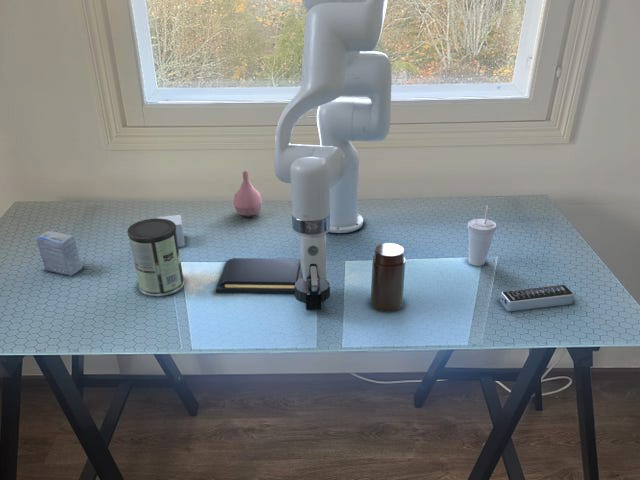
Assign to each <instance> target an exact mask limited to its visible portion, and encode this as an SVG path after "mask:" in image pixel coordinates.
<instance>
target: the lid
mask: <svg viewBox="0 0 640 480" xmlns="http://www.w3.org/2000/svg"><path fill="white" fill-rule="evenodd" d="M308 279H311V276H309V277H308ZM317 279H318V277H317ZM330 285H331V284H330V282H329V280H327V279H326V281H324V280H323V281H321V279H320V291H321V304H322V303H325V302H326V301H327V300H329V298H330V296H331V286H330ZM310 286H311V282H309V288H310ZM294 288H295V294H294V297H295V299H296V301H298V302H300V303H303V304H305V305H306V293H307V282H305V281H304V280H303V278H301V279H299V280H298V281H296V283H295V287H294Z"/></svg>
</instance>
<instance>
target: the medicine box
mask: <svg viewBox="0 0 640 480" xmlns="http://www.w3.org/2000/svg"><path fill="white" fill-rule="evenodd" d="M35 241H36V243H37V247H38V250H39V254H40V257H41V260H42V264H43V266H45V267H44V270H45V271H47V272H52V273H57V274H60V275H65V276H69V277H72V276H74V275H75V274H76V273H78V272H79V271H81V270H82V269H83V264H82V260H81V257H80V253H79V249H78V245H77V241H76V238H75V236H74V235H71V234H67V233H62V232H57V231H52V230H47V231H45V232H43V233H42V234H40V235H39V236H37V237H36V238H35ZM46 267H48V268H46ZM50 268H52V269H50ZM54 269H56V270H54ZM59 270H60V271H59ZM63 271H64V272H63Z"/></svg>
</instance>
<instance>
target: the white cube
mask: <svg viewBox="0 0 640 480" xmlns="http://www.w3.org/2000/svg"><path fill="white" fill-rule="evenodd" d="M156 218H160V219H167V220H170V221H172V222H174V223H175V225H176V235H177V241H178V247H179V248H184V247H186V243H185V235H184V227H183V222H182V215H181V214H175V215H173V214H172V215H163V216H156Z"/></svg>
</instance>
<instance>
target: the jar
mask: <svg viewBox="0 0 640 480" xmlns="http://www.w3.org/2000/svg"><path fill="white" fill-rule="evenodd" d="M373 250H374V252H373V253H374V254H373V256H372V260H371V283H370V306H371V307H372V308H373V309H375V310H376V311H380V312H385V313H386V312H388V313H390V312H396V311H398V310H399V309H401V308H402V307H403V302H404V291H405V289H404V288H405V278H406V277H405V275H406V263H407V259H406V257H405V248H404V247H403V246H402V245H401V244H397V243H393V242H385V243H381V244H378V245H376V246H375V248H374V249H373Z"/></svg>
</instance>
